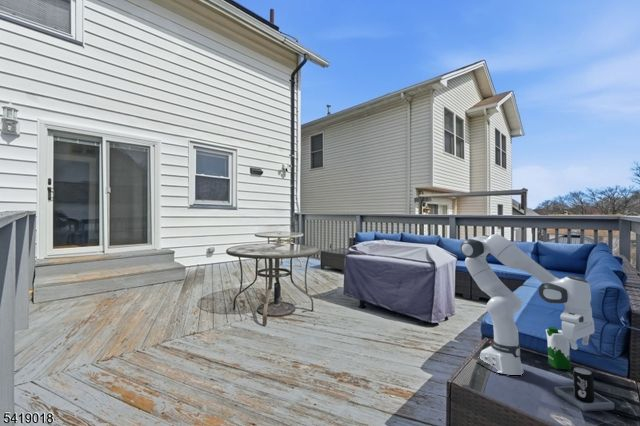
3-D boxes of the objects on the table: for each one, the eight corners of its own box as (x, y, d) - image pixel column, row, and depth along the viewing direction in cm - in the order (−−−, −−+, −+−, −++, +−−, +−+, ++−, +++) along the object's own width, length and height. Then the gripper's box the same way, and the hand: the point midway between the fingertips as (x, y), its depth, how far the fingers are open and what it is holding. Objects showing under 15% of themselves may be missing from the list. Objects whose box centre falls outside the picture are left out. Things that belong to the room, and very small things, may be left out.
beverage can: (598, 404, 124) (596, 374, 124) (580, 402, 125) (578, 373, 126) (587, 395, 130) (586, 367, 131) (570, 394, 132) (569, 366, 132)
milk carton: (545, 362, 164) (543, 325, 165) (563, 362, 163) (561, 325, 164) (555, 369, 156) (553, 330, 157) (574, 370, 154) (572, 331, 155)
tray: (583, 411, 121) (582, 404, 121) (554, 392, 134) (554, 386, 134) (614, 409, 122) (614, 403, 122) (583, 391, 135) (583, 385, 135)
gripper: (580, 309, 137) (582, 339, 137) (557, 316, 128) (559, 348, 127) (598, 312, 132) (600, 344, 131) (575, 320, 122) (577, 354, 122)
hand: (579, 346), depth 129 cm, fingers open, 8 cm apart
